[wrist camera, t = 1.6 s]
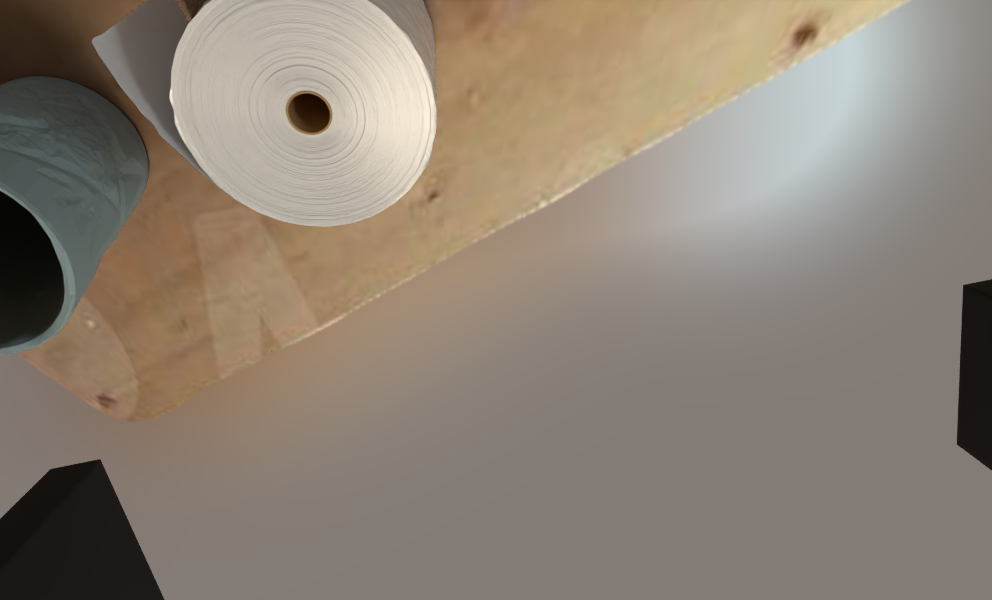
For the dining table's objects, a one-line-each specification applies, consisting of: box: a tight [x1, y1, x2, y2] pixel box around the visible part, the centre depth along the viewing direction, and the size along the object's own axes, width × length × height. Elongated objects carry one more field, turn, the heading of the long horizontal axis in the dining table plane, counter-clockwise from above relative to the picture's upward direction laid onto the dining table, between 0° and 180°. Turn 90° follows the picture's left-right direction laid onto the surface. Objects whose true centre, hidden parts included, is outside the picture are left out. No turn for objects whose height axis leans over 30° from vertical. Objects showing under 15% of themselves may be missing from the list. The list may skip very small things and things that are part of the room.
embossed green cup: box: [0, 76, 148, 355], centre depth 33 cm, size 10×10×12 cm
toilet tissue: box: [92, 0, 437, 226], centre depth 32 cm, size 11×12×10 cm
